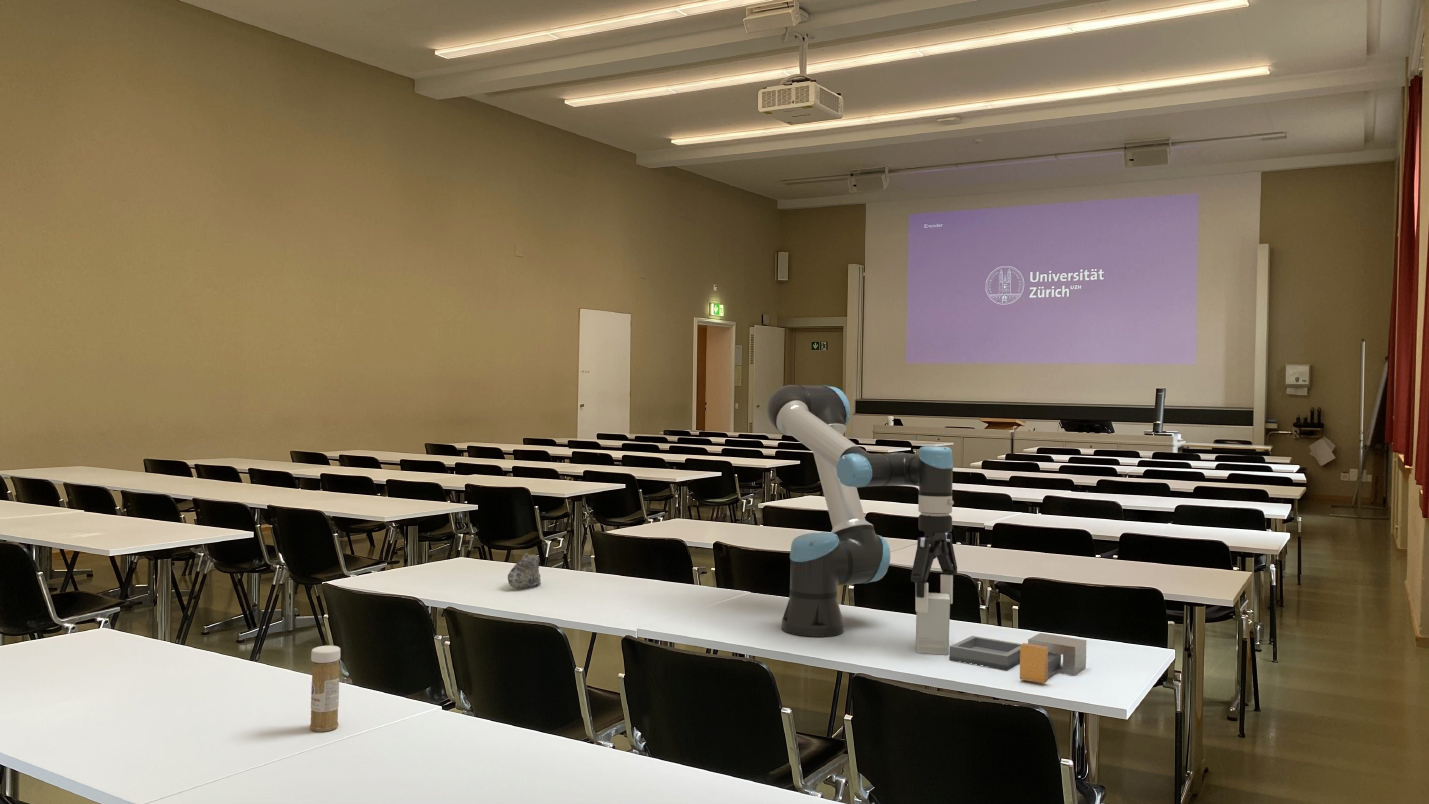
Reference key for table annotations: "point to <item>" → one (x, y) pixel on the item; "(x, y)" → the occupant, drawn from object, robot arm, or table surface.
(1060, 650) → the pin mount
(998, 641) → the cradle
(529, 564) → the mineral rock
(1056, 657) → the lock pin
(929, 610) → the supplement box
